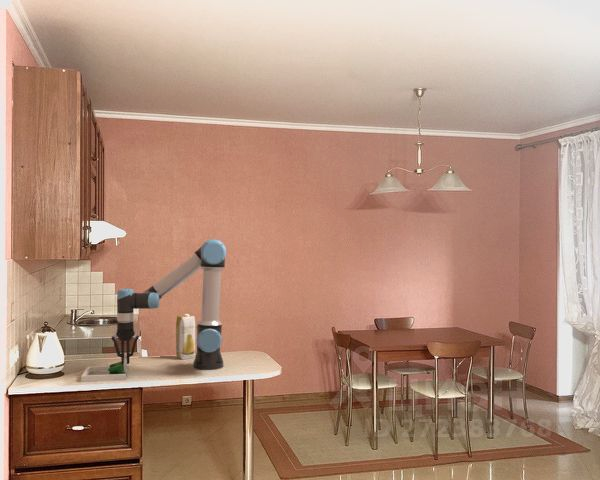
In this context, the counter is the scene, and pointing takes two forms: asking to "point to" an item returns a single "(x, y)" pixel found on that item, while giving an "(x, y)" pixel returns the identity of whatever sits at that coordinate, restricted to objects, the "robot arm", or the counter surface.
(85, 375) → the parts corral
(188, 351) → the juice carton
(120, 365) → the green lumpy piece
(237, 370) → the counter surface
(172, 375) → the counter surface
